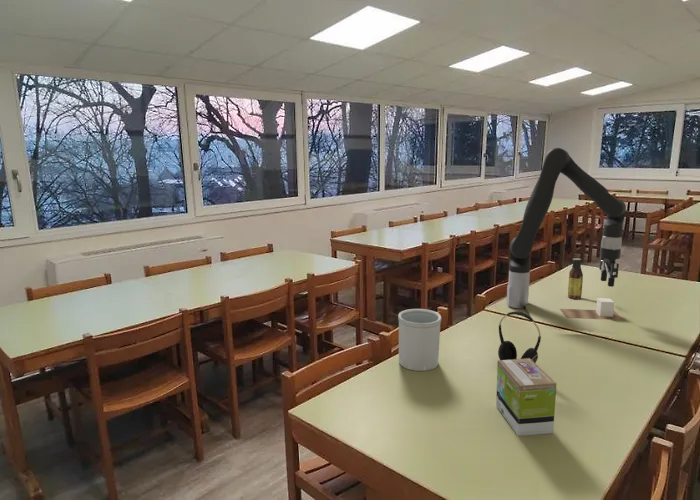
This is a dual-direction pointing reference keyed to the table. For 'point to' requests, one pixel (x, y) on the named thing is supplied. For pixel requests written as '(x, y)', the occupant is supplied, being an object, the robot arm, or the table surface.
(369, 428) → the table surface
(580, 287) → the sauce bottle
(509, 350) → the headphones
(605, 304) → the white rectangular block
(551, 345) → the table surface
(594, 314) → the board
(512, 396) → the tea box
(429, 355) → the utensil holder
